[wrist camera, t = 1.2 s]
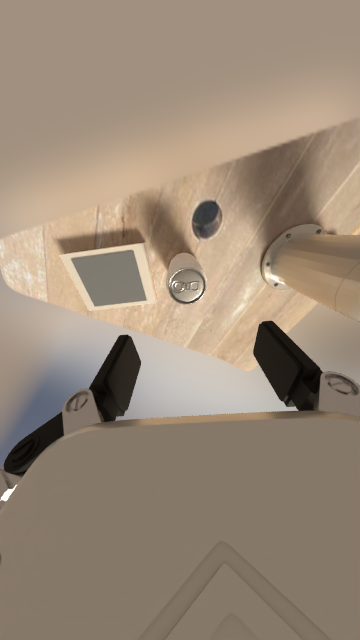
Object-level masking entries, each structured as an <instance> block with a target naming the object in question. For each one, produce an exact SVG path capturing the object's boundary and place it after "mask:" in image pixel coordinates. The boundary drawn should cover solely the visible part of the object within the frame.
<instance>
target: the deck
mask: <svg viewBox="0 0 360 640" xmlns="http://www.w3.org/2000/svg"><path fill="white" fill-rule="evenodd" d="M59 256H60V258H61V260H62V262H63V264H64V265H65V267H66V269H67V271H68V273H69V275H70V277H71V278H72V280H73V282H74V284H75V286H76V288H77V290H78V292H79V293H80V295H81V297H82V299H83V301H84V303H85V305H86V306H87V308H88V310H89V311H92V310H101V309H110V308H118V307H127V306H135V305H144V304H152V303H157V300H158V295H157V290H156V286H155V281H154V277H153V272H152V268H151V263H150V259H149V254H148V250H147V245H146V242H143V243H136V244H128V245H121V246H114V247H107V248H100V249H93V250H86V251H79V252H72V253H66V254H62V255H59Z"/></svg>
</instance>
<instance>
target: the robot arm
mask: <svg viewBox="0 0 360 640" xmlns="http://www.w3.org/2000/svg"><path fill="white" fill-rule="evenodd" d="M266 263H267V264H266ZM261 271H262V276H263V279H264V280H265V282H266V283H267V284H268V285H270V286H271V287H273V288H276V289H281V290H285V289H291V288H292V289H294V290H296V291H298V292H300V293H302V294H304V295H306V296H308V297H309V298H311V299H313V300H315V301H317V302H319V303H321V304H323V305H325V306H327V307H329V308H331V309H333V310H335V311H337V312H339V313H341V314H343V315H345V316H347V317H349V318H351V319H353V320H356V321H358V322H360V235H329V234H327V232H326V231H325V230H324V228H322V227H320V226H319V225H315V224H302V225H298V226H295V227H292V228H290V229H288V230H286V231H285V232H283V233H282V234H281V235H279V236H278V237H277V238H276V239H275V240H274V241H273V243H272V244H271V245H270V246H269V248H268V250H267V251H266V253H265V256H264V258H263V262H262V270H261ZM253 354H254V356H255V358H256V360H257V362H258V363H259V365H260V367H261V368H262V370H263V372H264V373H265V375H266V377H267V379H268V380H269V382H270V384H271V385H272V387H273V389H274V391H275V392H276V394H277V396H278V397H279V399H280V400H281V401H283V402H284V403H285V405H286V406H287V407H291V406H292V407H294V406H296V408H297V409H298V411H283V412H282V411H281V412H259V413H239V414H219V415H202V416H201V415H200V416H182V417H165V418H149V419H134V420H120V421H115V419H116V416H124V413H125V411H126V410H127V409H128V407H129V403H130V400H131V397H132V393H133V390H134V386H135V383H136V379H137V376H138V373H139V369H140V366H141V361H140V358H139V355H138V353H137V350H136V348H135V345H134V343H133V340H132V338H131V337H130V336H128V335H120V336H119V337H118V339H117V341H116V342H115V344H114V346H113V347H112V349H111V351H110V353H109V354H108V356H107V358H106V360H105V361H104V363H103V365H102V367H101V368H100V370H99V372H98V374H97V375H96V377H95V379H94V380H93V382H92V384H91V386H90V387H89V389H82V390H79V391H77V392H75V393H74V394H72V395H71V396H70V397H69V398H68V399H67V401H66V402H65V403H64V406H63V409H62V412H61V413H60V414H58V415H57V416H55V417H54V418H53V419H51V420H49V421H48V422H47V423H45V424H44V425H42V426H41V427H39V428H38V429H37V430H35V431H34V432H32V433H31V434H29V435H28V436H26V437H25V438H24V439H22V440H21V441H20V442H19V443H18V444H17V445H16V446H15V447H14V448H13V449H12V451H11V452H10V453H9V455H8V456H7V458H6V460H5V463H4V466H2V467H1V468H0V640H360V385H359V384H358V383H356V382H355V381H354V380H353V379H351V378H349V377H347V376H345V375H343V374H340V373H337V372H331V371H327V372H324V373H323V372H322V371H321V370H320V368H319V367H318V366H317V365H316V364H315V363H314V362H313V361H312V360H311V359H310V358H309V357H308V356H307V355H306V354H305V353H304V352H303V351H302V350H301V349H300V348H299V347H298V346H297V345H296V344H295V343H294V342H293V341H292V340H291V339H290V338H289V337H288V336H287V335H286V334H285V333H284V332H283V331H282V330H281V329H280V328H279V327H278V326H277V325H276V324H275V323H274V322H273V321H263V322H262V323H261V324H259V327H258V332H257V337H256V341H255V346H254V350H253Z"/></svg>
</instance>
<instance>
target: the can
mask: <svg viewBox="0 0 360 640" xmlns="http://www.w3.org/2000/svg"><path fill="white" fill-rule="evenodd" d="M166 286H167V290H168V292H169V294H170V295H171V297H172V298H173V299H174V300H175V301H176V302H178V303H181V304H192V303H195V302H197V301H198V300H200V299H201V298H202V296H203V295H204V293H205V290H206V286H207V278H206V274H205V272H204V270H203V269H202V267H201V265H200V264H199V262H198V261H197V259H196V258H195V257H194V256H193V255H191V254H189V253H180V254H178V255H176V256H175V257H174V258H173V259H172V260H171V262H170V265H169V269H168V273H167V278H166Z"/></svg>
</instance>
